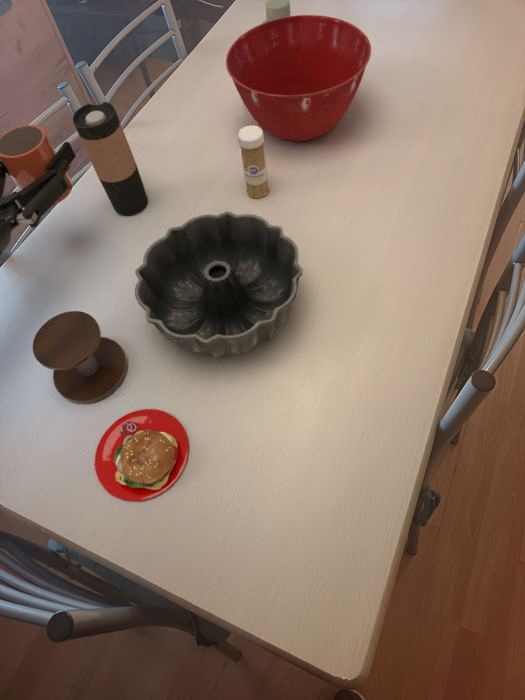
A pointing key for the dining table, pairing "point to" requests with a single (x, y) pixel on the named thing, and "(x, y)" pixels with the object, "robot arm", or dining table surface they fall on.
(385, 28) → the dining table surface
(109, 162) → the travel mug
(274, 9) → the air freshener
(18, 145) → the tumbler
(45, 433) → the dining table surface
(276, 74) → the mixing bowl
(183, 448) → the hamburger
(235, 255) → the bundt pan
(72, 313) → the wooden pedestal stand
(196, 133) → the dining table surface
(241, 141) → the sprinkles bottle
